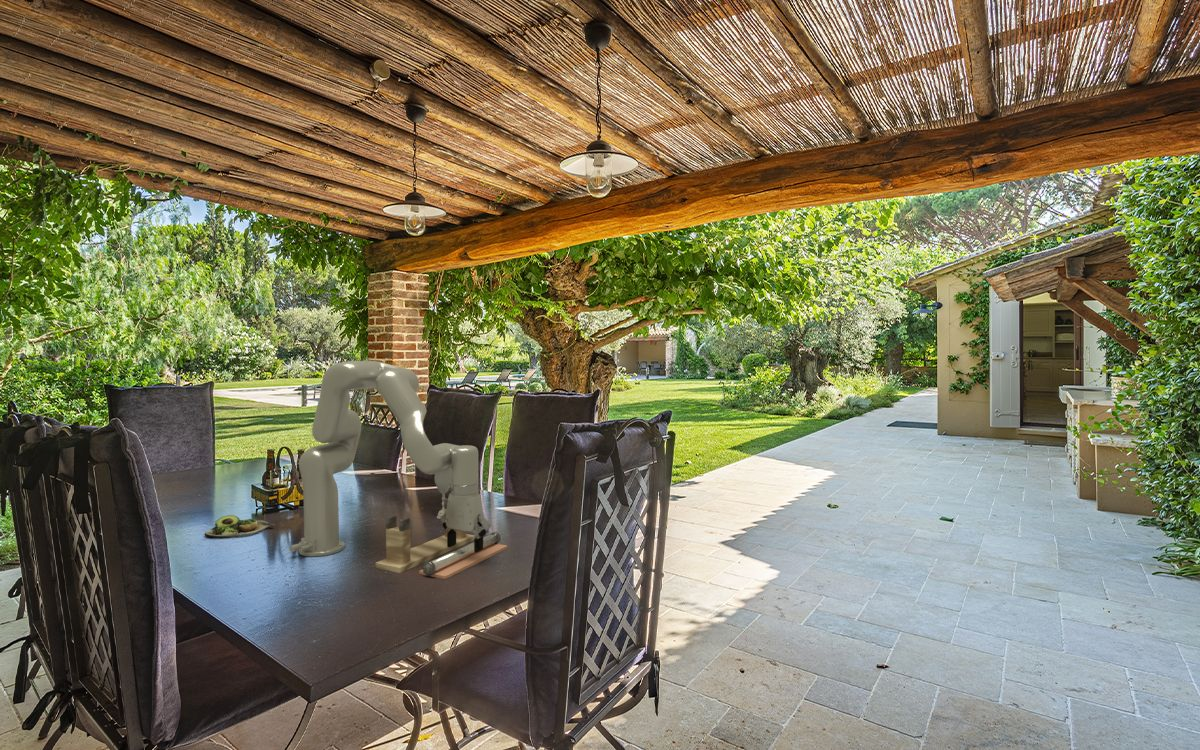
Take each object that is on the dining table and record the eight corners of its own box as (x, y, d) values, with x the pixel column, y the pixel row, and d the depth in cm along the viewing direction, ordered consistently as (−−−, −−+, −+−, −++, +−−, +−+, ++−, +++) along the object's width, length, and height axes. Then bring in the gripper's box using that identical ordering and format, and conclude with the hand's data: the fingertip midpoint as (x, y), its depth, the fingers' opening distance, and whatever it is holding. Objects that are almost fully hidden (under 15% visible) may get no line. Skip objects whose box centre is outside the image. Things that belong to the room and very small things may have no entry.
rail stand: (399, 573, 163) (399, 523, 162) (375, 568, 167) (374, 519, 166) (474, 540, 191) (474, 498, 191) (452, 536, 195) (452, 495, 195)
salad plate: (283, 523, 213) (283, 510, 213) (262, 538, 195) (262, 524, 195) (225, 525, 210) (224, 512, 210) (198, 541, 193) (197, 526, 193)
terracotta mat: (445, 579, 158) (445, 576, 158) (419, 573, 162) (419, 570, 162) (507, 548, 183) (507, 545, 183) (483, 544, 187) (483, 541, 187)
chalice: (446, 513, 224) (445, 465, 223) (457, 516, 219) (457, 467, 219) (429, 517, 218) (429, 467, 217) (441, 520, 214) (440, 470, 213)
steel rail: (433, 576, 159) (432, 562, 159) (423, 575, 160) (421, 561, 160) (501, 543, 186) (499, 531, 186) (491, 543, 187) (490, 531, 187)
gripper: (432, 488, 173) (432, 547, 173) (481, 495, 165) (481, 557, 165) (450, 483, 179) (450, 540, 180) (497, 489, 172) (497, 549, 172)
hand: (465, 548), depth 173 cm, fingers open, 9 cm apart
